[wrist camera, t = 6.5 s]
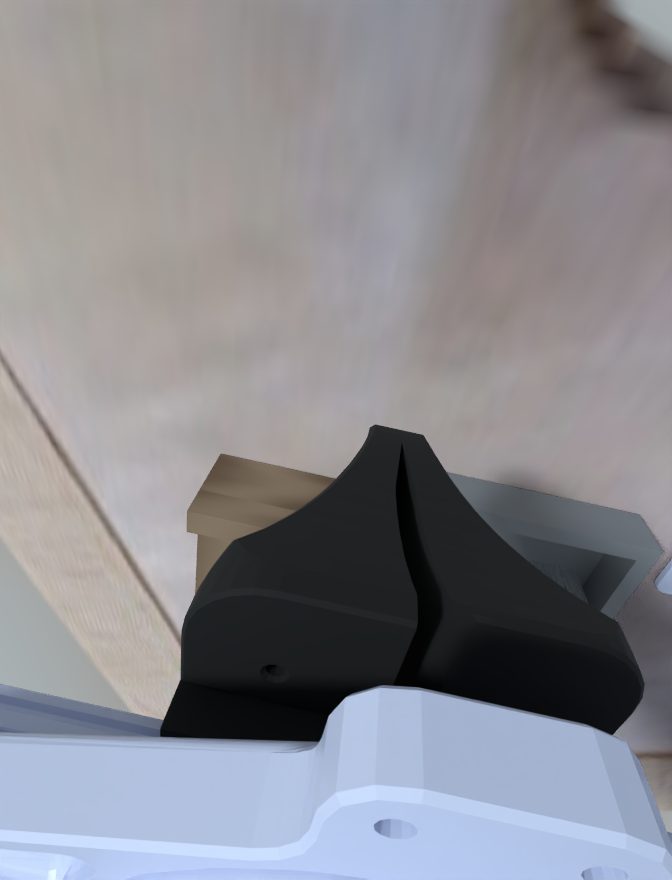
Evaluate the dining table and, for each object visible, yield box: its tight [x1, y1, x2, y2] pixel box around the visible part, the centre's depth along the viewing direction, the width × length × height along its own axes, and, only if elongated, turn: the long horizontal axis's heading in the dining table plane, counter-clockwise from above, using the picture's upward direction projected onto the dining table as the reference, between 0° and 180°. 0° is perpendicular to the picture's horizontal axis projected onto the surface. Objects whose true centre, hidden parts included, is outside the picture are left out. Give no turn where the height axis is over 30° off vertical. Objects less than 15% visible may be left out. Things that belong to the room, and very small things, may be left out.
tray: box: [447, 472, 664, 619], centre depth 26 cm, size 10×12×2 cm
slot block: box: [187, 454, 335, 594], centre depth 25 cm, size 11×8×4 cm
